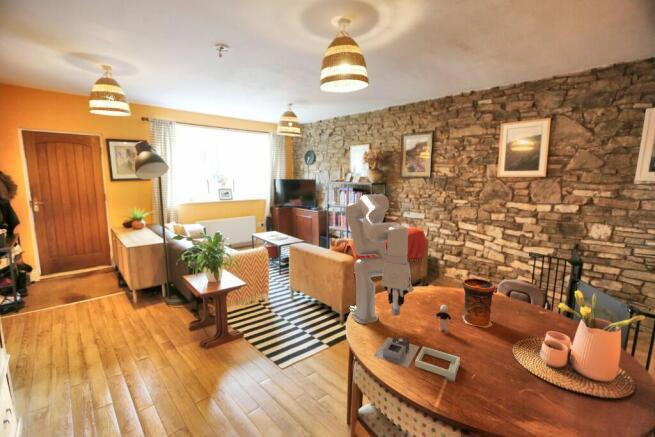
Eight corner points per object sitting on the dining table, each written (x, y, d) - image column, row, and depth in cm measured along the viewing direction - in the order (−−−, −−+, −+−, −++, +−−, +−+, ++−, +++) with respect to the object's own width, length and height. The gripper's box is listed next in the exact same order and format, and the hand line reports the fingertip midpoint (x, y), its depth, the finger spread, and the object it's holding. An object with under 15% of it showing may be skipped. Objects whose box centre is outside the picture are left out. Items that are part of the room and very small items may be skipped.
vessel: (460, 325, 144) (463, 285, 141) (459, 312, 157) (462, 276, 154) (494, 331, 139) (497, 289, 136) (490, 317, 152) (493, 279, 149)
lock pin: (388, 314, 117) (389, 282, 115) (392, 309, 120) (393, 278, 118) (399, 317, 114) (400, 284, 112) (403, 312, 118) (404, 280, 116)
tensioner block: (373, 358, 120) (373, 349, 120) (388, 339, 133) (388, 330, 133) (407, 370, 113) (407, 360, 112) (419, 348, 126) (420, 340, 125)
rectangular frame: (414, 368, 114) (415, 360, 113) (422, 353, 123) (423, 346, 122) (454, 381, 106) (454, 373, 106) (459, 364, 115) (459, 357, 115)
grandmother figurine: (451, 329, 140) (452, 304, 138) (451, 334, 137) (453, 308, 135) (434, 327, 143) (435, 302, 141) (434, 331, 139) (435, 305, 137)
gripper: (373, 257, 115) (372, 302, 118) (415, 264, 106) (413, 312, 109) (380, 253, 121) (380, 295, 124) (421, 259, 112) (419, 305, 115)
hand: (396, 303), depth 117 cm, fingers closed on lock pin, 3 cm apart
